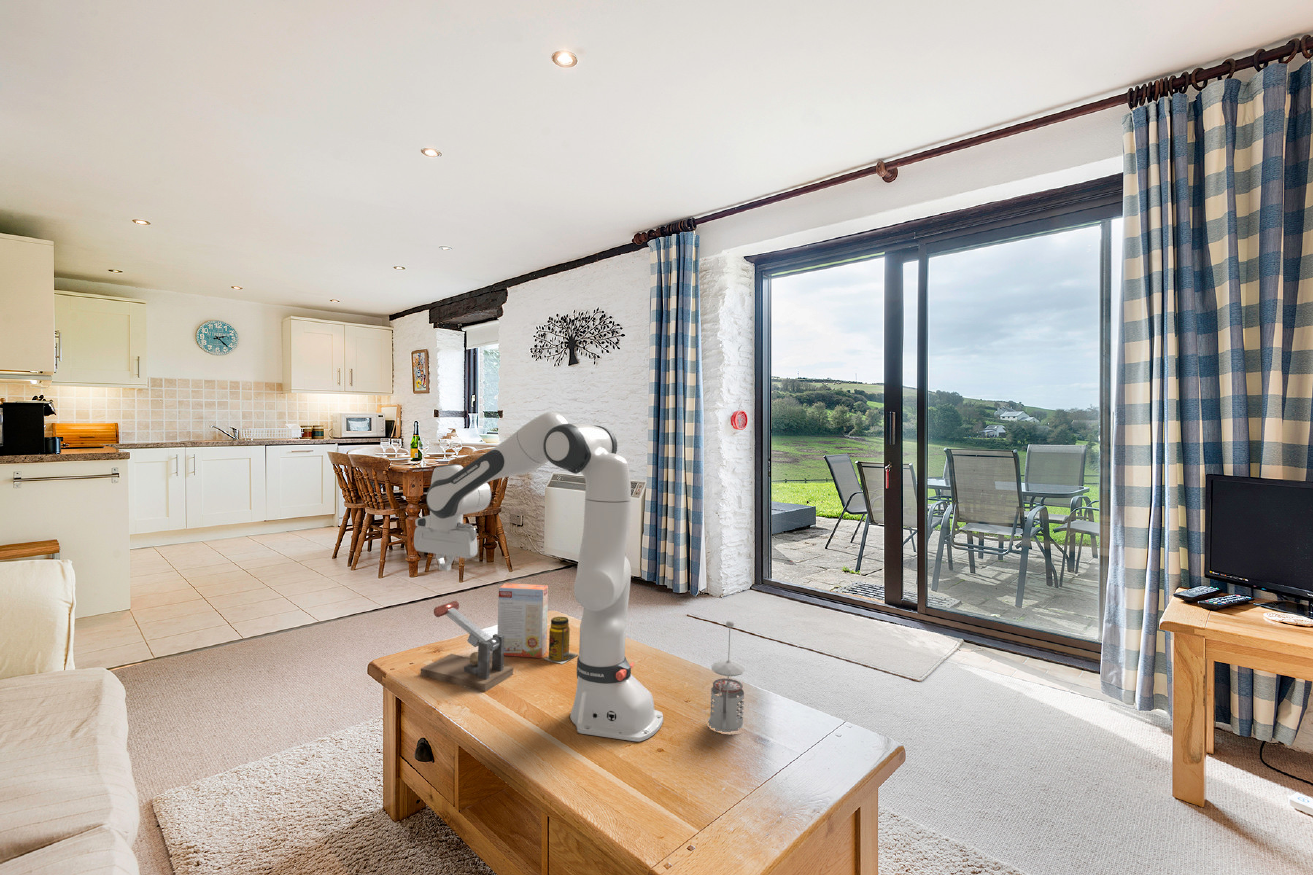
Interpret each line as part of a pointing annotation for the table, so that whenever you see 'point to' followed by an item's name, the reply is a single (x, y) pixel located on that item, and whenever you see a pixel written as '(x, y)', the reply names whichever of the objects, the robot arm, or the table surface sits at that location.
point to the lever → (466, 625)
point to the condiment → (559, 641)
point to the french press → (727, 695)
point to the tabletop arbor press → (472, 668)
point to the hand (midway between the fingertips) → (444, 569)
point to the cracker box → (523, 619)
